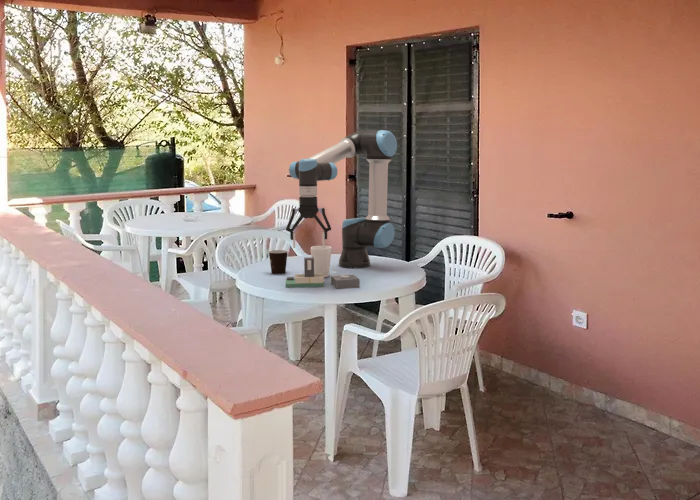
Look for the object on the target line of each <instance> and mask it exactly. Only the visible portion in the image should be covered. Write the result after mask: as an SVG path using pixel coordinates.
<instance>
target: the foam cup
mask: <svg viewBox="0 0 700 500" xmlns="http://www.w3.org/2000/svg"><path fill="white" fill-rule="evenodd" d="M332 252H333V249H332V246H330V245H329V246H328V245H325V248H323V245H314V246H311V247H310V254H311V257H314V274H323V277H324V278H326V277H329V275H330V267H331V257H332Z"/></svg>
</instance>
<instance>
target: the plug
mask: <svg viewBox="0 0 700 500" xmlns="http://www.w3.org/2000/svg"><path fill="white" fill-rule="evenodd" d="M303 264H304V273H303V274H304V276H305V277H314V257H312V256H311V257H307V256H306V257H304V259H303Z"/></svg>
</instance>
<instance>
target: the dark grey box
mask: <svg viewBox="0 0 700 500" xmlns="http://www.w3.org/2000/svg"><path fill="white" fill-rule="evenodd" d="M330 285H331V286H332V287H334V288H335V289H336V290H338V289H354V288H360V277H357V276H356V275H355V274H342V275H341V274H339V275H330Z"/></svg>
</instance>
